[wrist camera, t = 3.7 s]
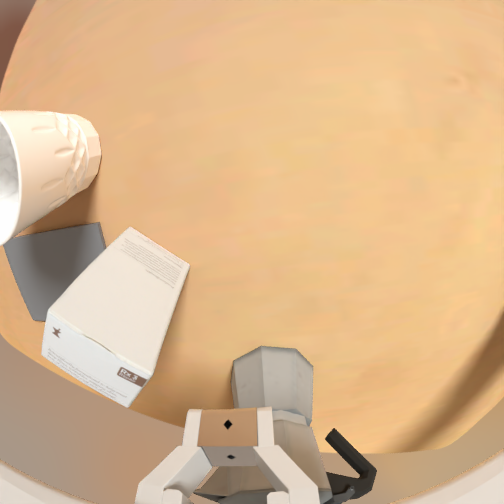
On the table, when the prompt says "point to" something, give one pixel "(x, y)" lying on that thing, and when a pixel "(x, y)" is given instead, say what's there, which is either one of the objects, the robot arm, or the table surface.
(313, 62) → the table surface
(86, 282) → the skincare box
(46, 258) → the mat
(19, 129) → the white cup
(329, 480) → the coffee maker
